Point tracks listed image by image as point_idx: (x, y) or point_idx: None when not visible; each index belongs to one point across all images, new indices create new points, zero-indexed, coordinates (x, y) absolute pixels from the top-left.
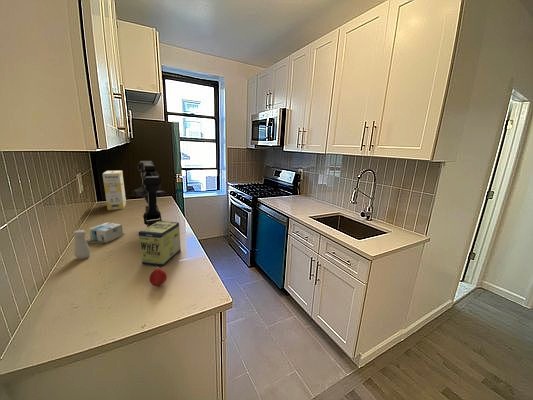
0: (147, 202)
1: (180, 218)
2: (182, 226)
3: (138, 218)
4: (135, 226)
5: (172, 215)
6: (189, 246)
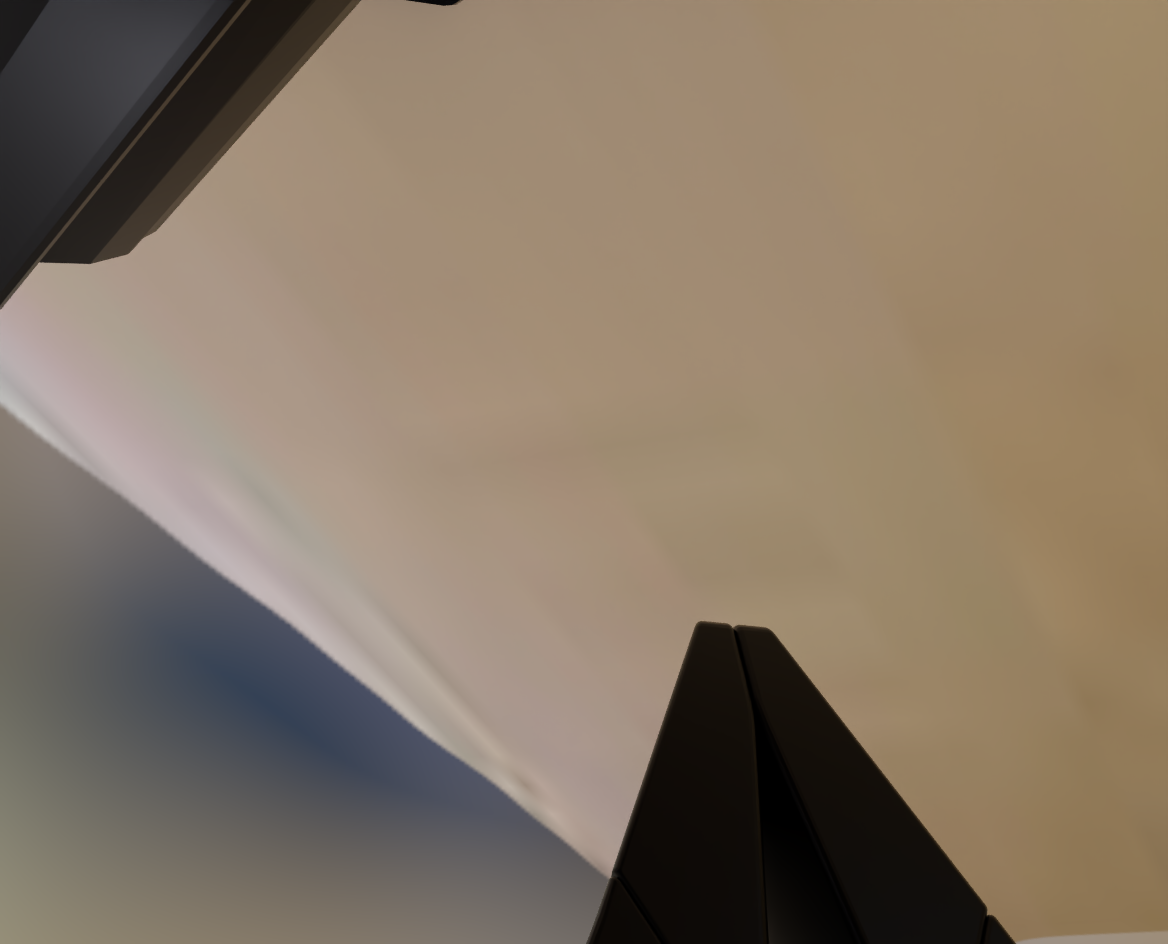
0: (891, 838)
1: (391, 693)
2: (39, 366)
3: (1160, 613)
4: (1077, 174)
5: (604, 777)
6: None
